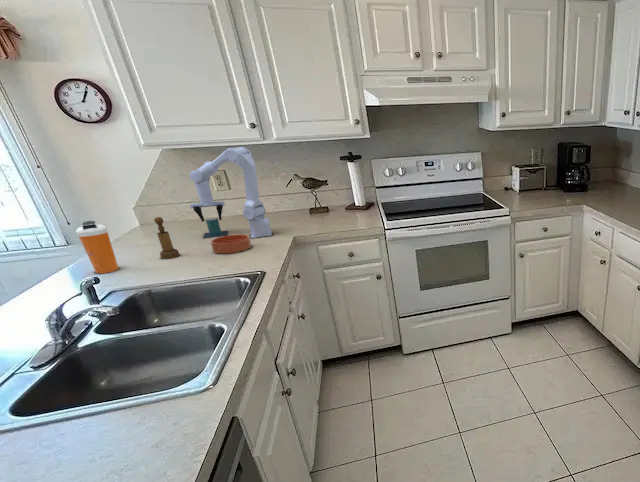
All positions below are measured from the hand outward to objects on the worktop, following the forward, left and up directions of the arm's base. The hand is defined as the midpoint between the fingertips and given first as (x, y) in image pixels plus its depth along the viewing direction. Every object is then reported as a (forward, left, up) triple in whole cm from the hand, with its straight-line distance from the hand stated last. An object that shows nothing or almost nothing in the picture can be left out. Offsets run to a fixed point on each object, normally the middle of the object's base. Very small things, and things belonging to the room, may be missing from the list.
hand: (212, 220), depth 214 cm
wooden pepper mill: (+16, +32, -8) cm, 37 cm away
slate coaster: (0, 0, -8) cm, 8 cm away
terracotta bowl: (-8, +34, -8) cm, 36 cm away
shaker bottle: (+36, +40, -8) cm, 54 cm away
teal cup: (0, 0, -7) cm, 7 cm away
